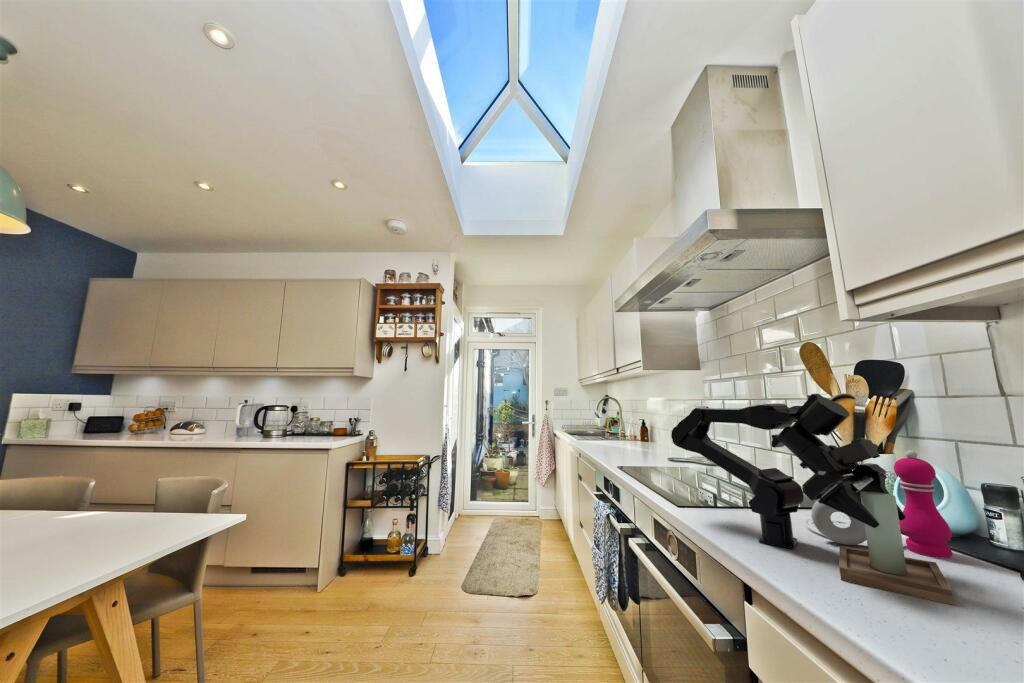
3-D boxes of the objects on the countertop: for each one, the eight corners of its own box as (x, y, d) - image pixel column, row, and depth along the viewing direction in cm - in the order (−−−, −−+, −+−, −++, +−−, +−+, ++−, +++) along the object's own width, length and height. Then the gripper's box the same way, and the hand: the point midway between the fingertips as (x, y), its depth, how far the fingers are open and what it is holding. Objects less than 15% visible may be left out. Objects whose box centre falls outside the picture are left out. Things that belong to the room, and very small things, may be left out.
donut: (875, 547, 79) (867, 497, 80) (877, 552, 76) (868, 500, 78) (814, 537, 85) (808, 491, 87) (814, 541, 82) (807, 494, 84)
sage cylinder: (863, 563, 68) (853, 491, 71) (891, 564, 68) (881, 492, 70) (884, 573, 64) (873, 496, 66) (915, 576, 63) (902, 497, 65)
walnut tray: (841, 556, 75) (839, 545, 75) (938, 574, 66) (935, 562, 67) (841, 579, 65) (839, 567, 65) (954, 605, 57) (952, 590, 57)
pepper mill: (900, 542, 81) (884, 447, 84) (951, 550, 77) (931, 449, 80) (906, 553, 76) (888, 451, 79) (961, 562, 71) (939, 453, 74)
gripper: (811, 425, 70) (902, 502, 58) (865, 422, 77) (955, 489, 65) (773, 464, 75) (848, 540, 64) (826, 457, 83) (902, 524, 71)
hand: (890, 522), depth 66 cm, fingers open, 9 cm apart
